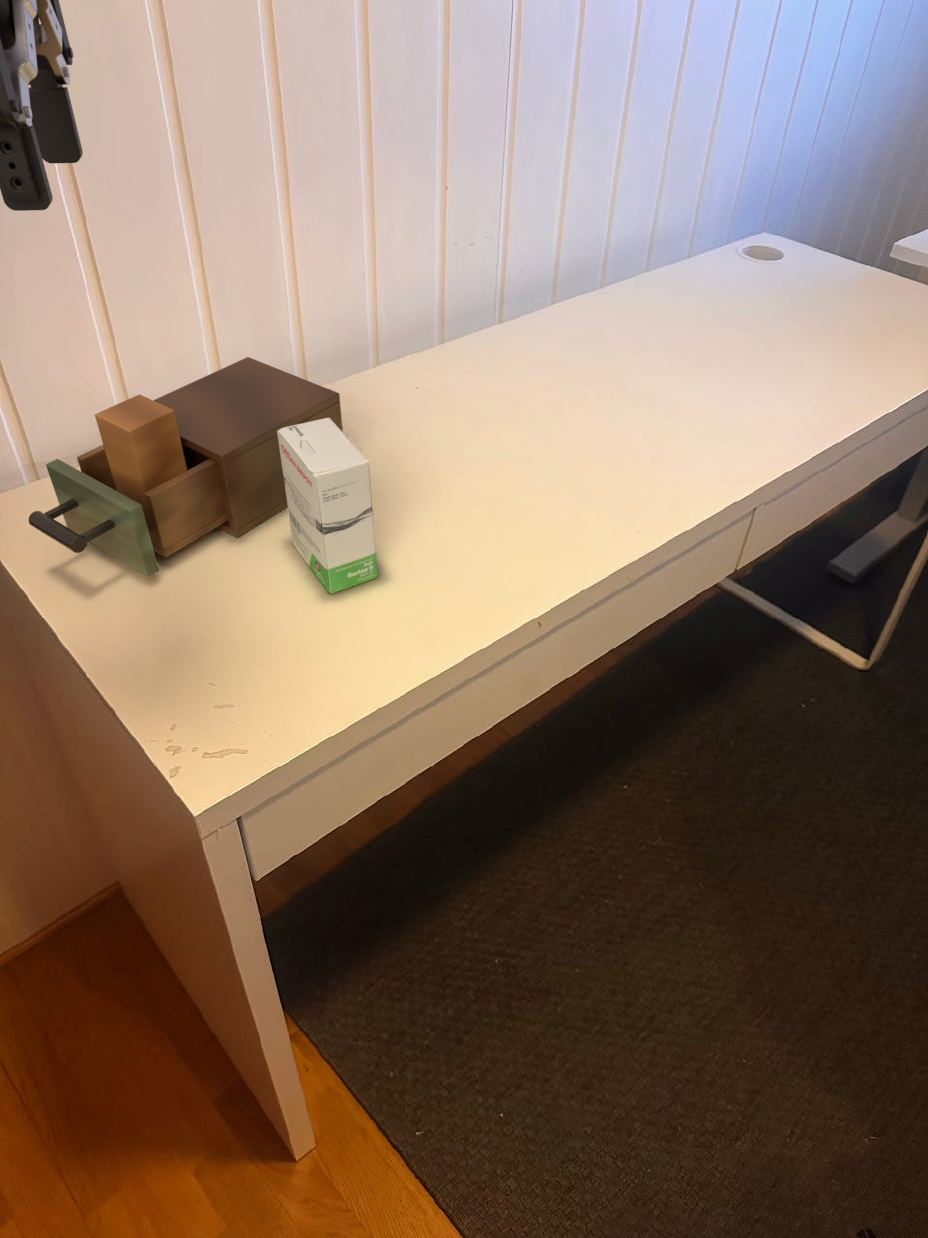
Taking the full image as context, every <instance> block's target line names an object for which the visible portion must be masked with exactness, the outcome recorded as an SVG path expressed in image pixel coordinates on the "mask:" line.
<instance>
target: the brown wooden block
mask: <svg viewBox="0 0 928 1238" xmlns="http://www.w3.org/2000/svg"><path fill="white" fill-rule="evenodd" d="M153 400H154V399H151V398H149V397H146V396H145V395H142V394H137V395H135V396H132V397H130V398H128V399H126V400H124V401H121V402H119V403H116V404H115V405H112V406H110V407H108V408H106V409H104V410H101V411H99V412H97V413H95V414H94V417H95V422H96V425H97V428H98V431H99V435H100V439H101V442H102V445H103V446H104V449H105V453H106V456H107V459H108V463H109V466H110V470H111V473H112V477H113V480H114V484H115V487H116V491H117V492H119V493H121V494H123V495H125V496H126V497H128V498H130V499H132V500H134V501H135V502H137V503H139V504H141V505H142V508H143V512H144V516H145V520H146V523H147V527H148V528H149V529H151V530H153V531H154V528H153V524H152V520H151V517H150V513H149V509H148V505H147V502H146V498H145V493H146V492H148V491H150V490H152V489H154V488H156V487H157V486H159V485H161V484H163V483H165V482H167V481H169V480H171V479H172V478H174V477H176V476H178V475H180V474H182V473H184V472H186V471H187V466H186V462H185V457H184V453H183V448H182V444H181V439H180V435H179V430H178V426H177V421H176V417H175V412H174V410H173V409H170V408H168V407H166V406H164V405H162V404H160V403H157V402H155V401H153Z"/></svg>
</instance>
